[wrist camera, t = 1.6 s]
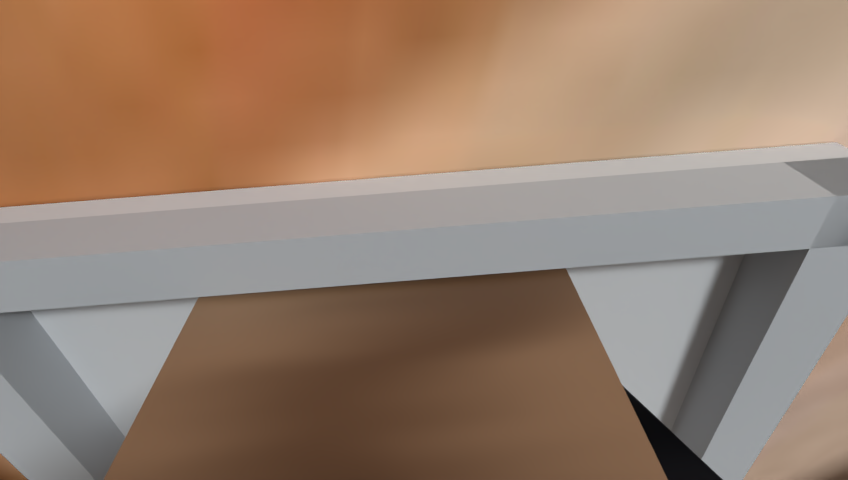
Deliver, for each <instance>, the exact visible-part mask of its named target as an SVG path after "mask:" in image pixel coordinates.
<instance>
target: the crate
mask: <svg viewBox="0 0 848 480" xmlns="http://www.w3.org/2000/svg"><path fill="white" fill-rule="evenodd" d="M104 480H668V479H667V477H666V475H665V473H664V471H663V469H662V466H661V464H660V462H659V460H658V458H657V456H656V454H655V452H654V450H653V448H652V446H651V444H650V442H649V440H648V438H647V435H646V433H645V431H644V429H643V427H642V425H641V423H640V421H639V419H638V417H637V415H636V413H635V411H634V409H633V406H632V404H631V402H630V400H629V398H628V396H627V394H626V392H625V390H624V388H623V386H622V384H621V382H620V380H619V377H618V375H617V373H616V371H615V369H614V367H613V365H612V363H611V361H610V359H609V357H608V355H607V353H606V351H605V348H604V346H603V344H602V342H601V340H600V338H599V336H598V334H597V332H596V330H595V328H594V326H593V324H592V322H591V319H590V317H589V315H588V313H587V311H586V309H585V307H584V305H583V303H582V301H581V299H580V297H579V295H578V293H577V290H576V288H575V286H574V284H573V282H572V280H571V278H570V276H569V274H568V272H567V270H566V268H561V269H549V270H536V271H523V272H511V273H498V274H485V275H473V276H460V277H448V278H435V279H422V280H410V281H397V282H384V283H372V284H359V285H346V286H334V287H321V288H309V289H296V290H283V291H271V292H258V293H245V294H233V295H220V296H207V297H198V299H197V301H196V303H195V305H194V307H193V309H192V311H191V313H190V315H189V316H188V318H187V320H186V322H185V324H184V326H183V328H182V330H181V332H180V334H179V336H178V338H177V339H176V341H175V343H174V345H173V347H172V349H171V351H170V353H169V355H168V357H167V359H166V361H165V363H164V364H163V366H162V368H161V370H160V372H159V374H158V376H157V378H156V380H155V382H154V384H153V386H152V388H151V389H150V391H149V393H148V395H147V397H146V399H145V401H144V403H143V405H142V407H141V409H140V411H139V412H138V414H137V416H136V418H135V420H134V422H133V424H132V426H131V428H130V430H129V432H128V434H127V436H126V437H125V439H124V441H123V443H122V445H121V447H120V449H119V451H118V453H117V455H116V457H115V459H114V460H113V462H112V464H111V466H110V468H109V470H108V472H107V474H106V476H105V478H104Z"/></svg>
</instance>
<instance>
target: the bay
mask: <svg viewBox="0 0 848 480" xmlns="http://www.w3.org/2000/svg"><path fill="white" fill-rule="evenodd" d="M561 268H566V270H567V272H568V274H569V276H570V278H571V280H572V282H573V284H574V286H575V288H576V290H577V293H578V295H579V297H580V299H581V301H582V303H583V305H584V307H585V309H586V311H587V313H588V315H589V317H590V319H591V322H592V324H593V326H594V328H595V330H596V332H597V334H598V336H599V338H600V340H601V342H602V344H603V346H604V348H605V351H606V353H607V355H608V357H609V359H610V361H611V363H612V365H613V367H614V369H615V371H616V373H617V375H618V377H619V380H620V382H621V384H622V385H623V386H624V387H625V388H626V389H627V390H628V391H629V392H630V393H631V394H632V395H633V396H634V397H635V398H637V399H638V400H639V401H640V402H641V403H642V404H643V405H644V406H645V407H646V408H647V409H648V410H649V411H650V412H651V413H653V414H654V415H655V416H656V417H657V418H658V419H659V420H660V421H661V422H662V423H663V424H664V425H665V426H666V427H667V428H668V429H670V430H671V431H672V432H673V433H674V434H675V435H676V436H677V437H678V438H679V439H680V440H681V441H682V442H683V443H684V444H685V445H687V446H688V447H689V448H690V449H691V450H692V451H693V452H694V453H695V454H696V455H697V456H698V457H699V458H700V459H701V460H702V461H704V462H705V463H706V464H707V465H708V466H709V467H710V468H711V469H712V470H713V471H714V472H715V473H716V474H717V475H718V476H720V477H721V478H722V479H723V480H743V478H744V477H745V475H746V474H747V472H748V470H749V469H750V467H751V466H752V464H753V463H754V461H755V459H756V458H757V456H758V455H759V453H760V452H761V450H762V448H763V447H764V445H765V444H766V442H767V441H768V439H769V437H770V436H771V434H772V433H773V431H774V430H775V428H776V426H777V425H778V423H779V422H780V420H781V419H782V417H783V415H784V414H785V412H786V411H787V409H788V408H789V406H790V404H791V403H792V401H793V400H794V398H795V397H796V395H797V393H798V392H799V390H800V389H801V387H802V386H803V384H804V382H805V381H806V379H807V378H808V376H809V375H810V373H811V371H812V370H813V368H814V367H815V365H816V364H817V362H818V360H819V359H820V357H821V356H822V354H823V353H824V351H825V349H826V348H827V346H828V345H829V343H830V342H831V340H832V338H833V337H834V335H835V334H836V332H837V331H838V329H839V327H840V326H841V324H842V323H843V321H844V319H845V318H846V316H847V315H848V148H846V147H844V146H842V145H840V144H838V143H837V142H833V143H820V144H808V145H795V146H782V147H769V148H756V149H744V150H731V151H718V152H705V153H692V154H679V155H667V156H654V157H641V158H628V159H615V160H603V161H590V162H577V163H564V164H551V165H538V166H526V167H513V168H500V169H487V170H474V171H462V172H449V173H436V174H423V175H410V176H398V177H385V178H372V179H359V180H346V181H333V182H321V183H308V184H295V185H282V186H269V187H257V188H244V189H231V190H218V191H205V192H192V193H180V194H167V195H154V196H141V197H128V198H116V199H103V200H90V201H77V202H64V203H51V204H39V205H26V206H13V207H0V453H1V454H2V455H3V456H4V457H5V458H6V459H7V460H8V461H9V462H10V463H11V464H12V465H13V466H14V467H15V468H16V469H17V470H19V471H20V472H21V473H22V474H23V475H24V476H25V477H26V478H27V479H28V480H104V478H105V476H106V474H107V472H108V470H109V468H110V466H111V464H112V462H113V460H114V459H115V457H116V455H117V453H118V451H119V449H120V447H121V445H122V443H123V441H124V439H125V437H126V436H127V434H128V432H129V430H130V428H131V426H132V424H133V422H134V420H135V418H136V416H137V414H138V412H139V411H140V409H141V407H142V405H143V403H144V401H145V399H146V397H147V395H148V393H149V391H150V389H151V388H152V386H153V384H154V382H155V380H156V378H157V376H158V374H159V372H160V370H161V368H162V366H163V364H164V363H165V361H166V359H167V357H168V355H169V353H170V351H171V349H172V347H173V345H174V343H175V341H176V339H177V338H178V336H179V334H180V332H181V330H182V328H183V326H184V324H185V322H186V320H187V318H188V316H189V315H190V313H191V311H192V309H193V307H194V305H195V303H196V301H197V299H198V297H207V296H220V295H233V294H245V293H258V292H271V291H283V290H296V289H309V288H321V287H334V286H346V285H359V284H372V283H384V282H397V281H410V280H422V279H435V278H448V277H460V276H473V275H485V274H498V273H511V272H523V271H536V270H549V269H561Z"/></svg>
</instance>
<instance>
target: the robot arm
mask: <svg viewBox="0 0 848 480" xmlns="http://www.w3.org/2000/svg"><path fill="white" fill-rule="evenodd" d="M622 386H623V385H622ZM623 388H624V390H625V392H626V394H627V396H628V398H629V400H630V402H631V404H632V406H633V409H634V411H635V413H636V415H637V417H638V419H639V421H640V423H641V425H642V427H643V429H644V431H645V433H646V435H647V438H648V440H649V442H650V444H651V446H652V448H653V450H654V452H655V454H656V456H657V458H658V460H659V462H660V464H661V466H662V469H663V471H664V473H665V475H666V477H667V479H668V480H723V479H722V478H721V477H720V476H718V475H717V474H716V473H715V472H714V471H713V470H712V469H711V468H710V467H709V466H708V465H707V464H706V463H705V462H704V461H702V460H701V459H700V458H699V457H698V456H697V455H696V454H695V453H694V452H693V451H692V450H691V449H690V448H689V447H688V446H687V445H685V444H684V443H683V442H682V441H681V440H680V439H679V438H678V437H677V436H676V435H675V434H674V433H673V432H672V431H671V430H670V429H668V428H667V427H666V426H665V425H664V424H663V423H662V422H661V421H660V420H659V419H658V418H657V417H656V416H655V415H654V414H653V413H651V412H650V411H649V410H648V409H647V408H646V407H645V406H644V405H643V404H642V403H641V402H640V401H639V400H638V399H637V398H635V397H634V396H633V395H632V394H631V393H630V392H629V391H628V390H627V389H626V388H625V387H624V386H623Z"/></svg>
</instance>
